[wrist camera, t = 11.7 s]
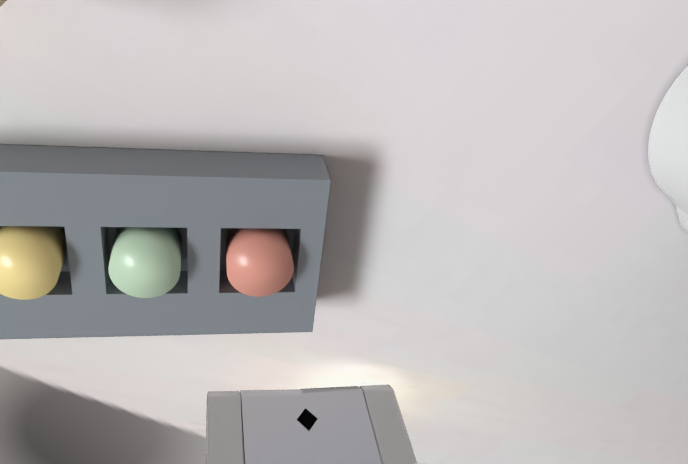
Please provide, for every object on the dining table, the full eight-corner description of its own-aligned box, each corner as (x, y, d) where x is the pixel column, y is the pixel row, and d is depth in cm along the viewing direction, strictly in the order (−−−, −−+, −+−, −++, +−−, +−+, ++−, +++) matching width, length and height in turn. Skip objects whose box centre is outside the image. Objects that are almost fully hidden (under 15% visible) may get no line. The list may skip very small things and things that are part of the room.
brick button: (291, 217, 43) (296, 242, 41) (286, 269, 45) (291, 296, 43) (226, 216, 42) (227, 242, 40) (224, 269, 45) (225, 297, 42)
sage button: (181, 216, 42) (180, 241, 39) (182, 270, 44) (180, 297, 41) (112, 215, 41) (105, 241, 38) (116, 270, 43) (110, 298, 41)
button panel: (322, 155, 43) (330, 180, 40) (306, 301, 49) (312, 331, 46) (-51, 142, 38) (-72, 169, 35) (-16, 305, 44) (-32, 339, 42)
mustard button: (64, 214, 40) (54, 241, 38) (70, 270, 42) (62, 299, 40) (-11, 213, 39) (-26, 240, 37) (0, 270, 42) (-14, 300, 39)
